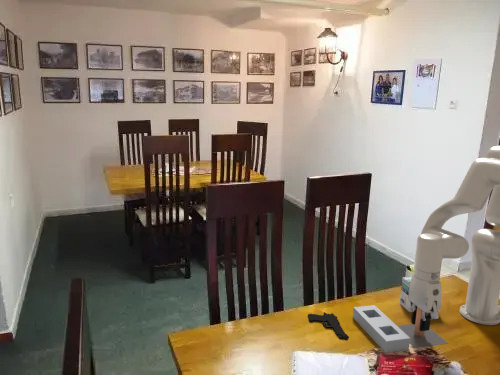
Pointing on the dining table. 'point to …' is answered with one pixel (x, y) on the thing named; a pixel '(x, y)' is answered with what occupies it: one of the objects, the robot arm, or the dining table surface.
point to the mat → (427, 340)
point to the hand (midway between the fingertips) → (420, 326)
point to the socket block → (381, 328)
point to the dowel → (418, 323)
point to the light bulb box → (405, 293)
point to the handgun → (329, 323)
